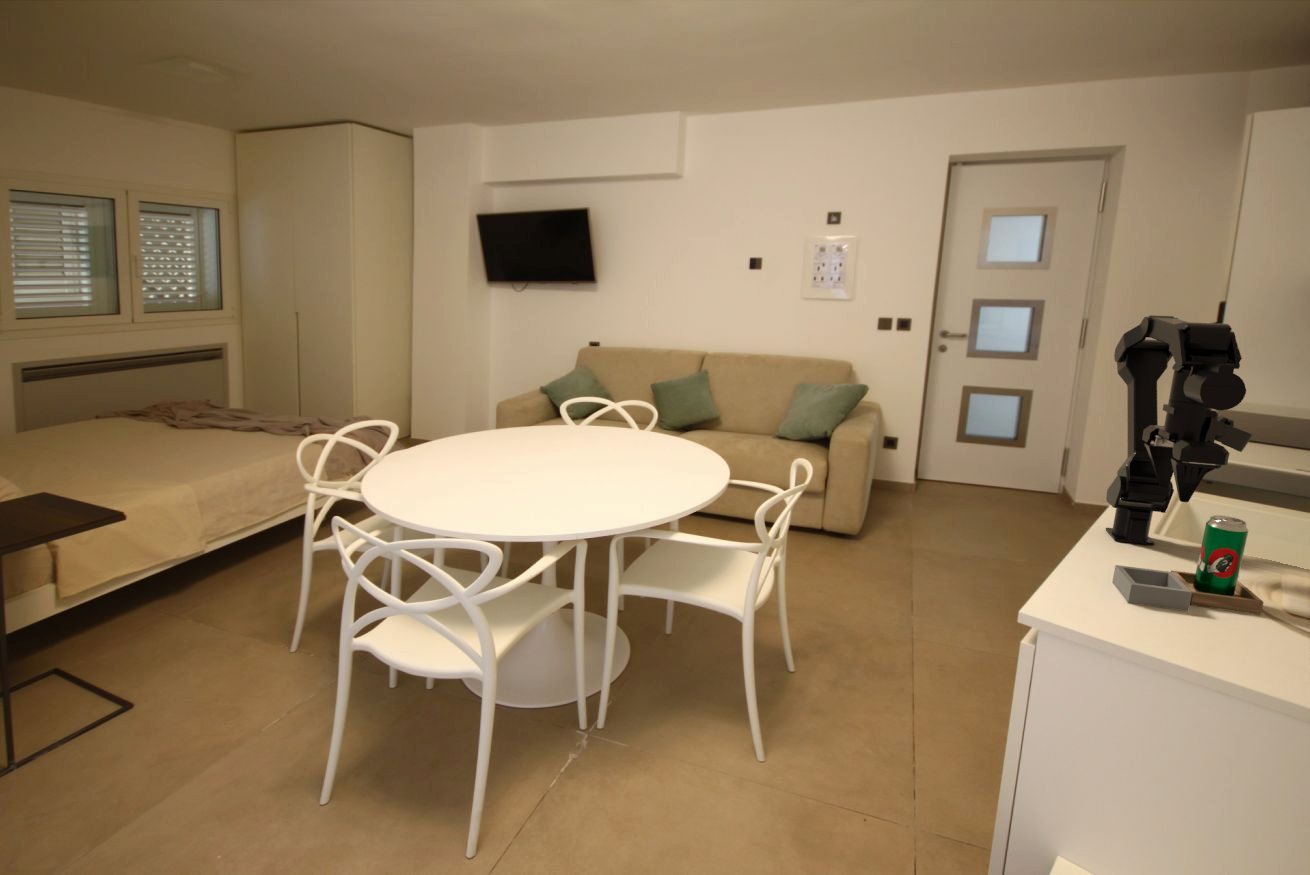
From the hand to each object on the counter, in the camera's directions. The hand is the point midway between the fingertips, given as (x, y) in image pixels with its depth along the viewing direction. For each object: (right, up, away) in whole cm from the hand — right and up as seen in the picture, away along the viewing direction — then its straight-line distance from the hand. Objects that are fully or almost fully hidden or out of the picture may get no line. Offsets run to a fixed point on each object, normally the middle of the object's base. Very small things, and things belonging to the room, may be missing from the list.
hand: (1173, 494), depth 118 cm
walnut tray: (0, -15, -8) cm, 17 cm away
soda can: (0, -15, -8) cm, 17 cm away
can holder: (-10, -15, -8) cm, 20 cm away
